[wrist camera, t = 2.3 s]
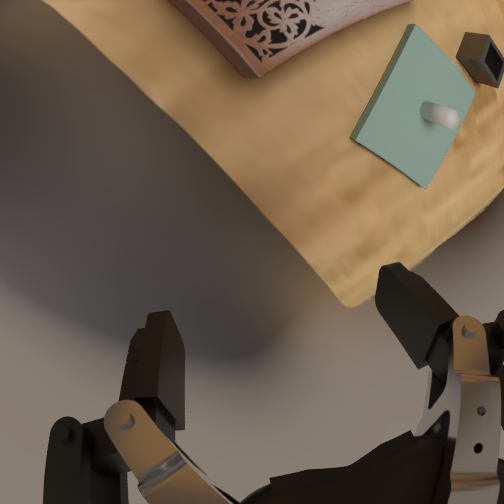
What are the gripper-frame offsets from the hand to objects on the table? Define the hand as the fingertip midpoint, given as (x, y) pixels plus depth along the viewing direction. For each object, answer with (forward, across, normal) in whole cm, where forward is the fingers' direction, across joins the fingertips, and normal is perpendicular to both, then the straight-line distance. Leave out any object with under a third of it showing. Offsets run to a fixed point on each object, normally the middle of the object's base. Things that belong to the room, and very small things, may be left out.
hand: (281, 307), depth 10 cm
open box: (+21, -38, -17) cm, 46 cm away
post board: (+22, -26, -7) cm, 35 cm away
